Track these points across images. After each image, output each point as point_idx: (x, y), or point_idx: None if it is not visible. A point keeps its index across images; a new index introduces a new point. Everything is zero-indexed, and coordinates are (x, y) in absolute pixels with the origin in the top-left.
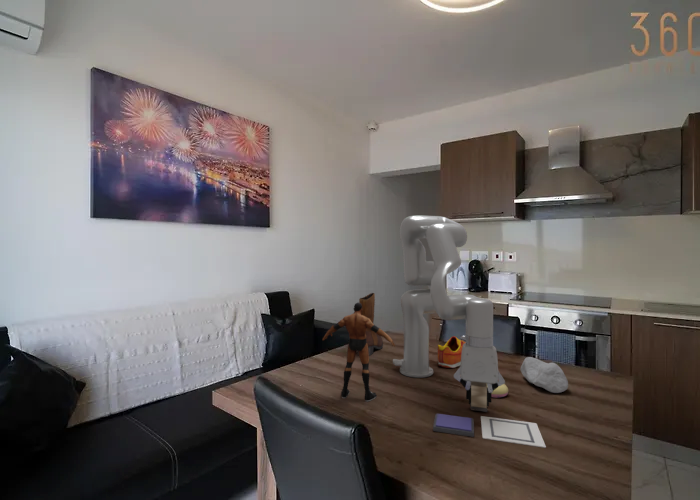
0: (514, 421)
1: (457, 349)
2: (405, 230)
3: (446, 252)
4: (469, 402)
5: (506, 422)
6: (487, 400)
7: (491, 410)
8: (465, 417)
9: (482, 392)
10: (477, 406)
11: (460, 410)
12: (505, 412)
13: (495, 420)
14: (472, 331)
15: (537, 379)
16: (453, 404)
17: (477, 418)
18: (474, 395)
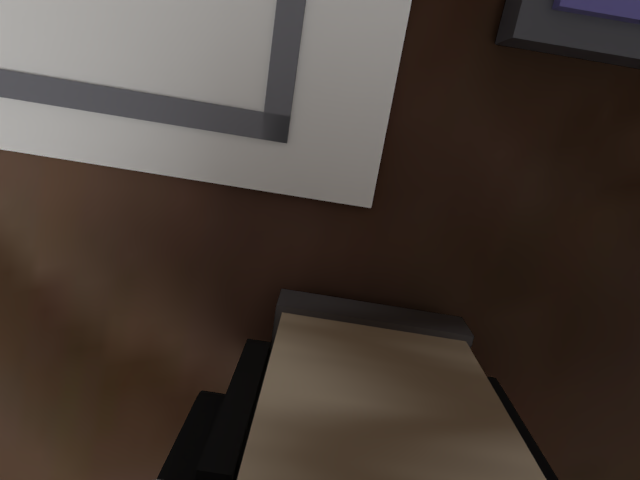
0: (11, 120)
1: None
2: None
3: None
4: (492, 383)
5: (103, 79)
6: (253, 384)
7: (224, 366)
8: (634, 15)
9: (331, 470)
10: (391, 333)
11: (557, 326)
12: (89, 341)
13: (223, 106)
14: None
15: None
16: (589, 447)
17: (418, 158)
18: (467, 434)
